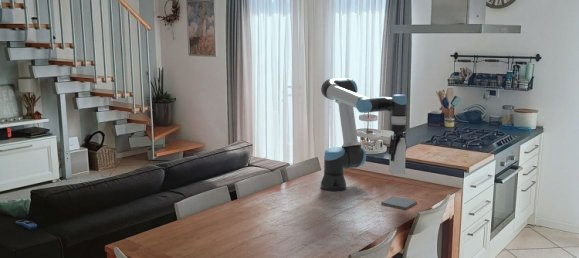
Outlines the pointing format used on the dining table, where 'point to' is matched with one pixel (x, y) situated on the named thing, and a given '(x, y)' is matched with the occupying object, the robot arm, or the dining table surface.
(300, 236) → the dining table surface
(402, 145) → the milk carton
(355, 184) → the dining table surface
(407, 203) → the slate board
